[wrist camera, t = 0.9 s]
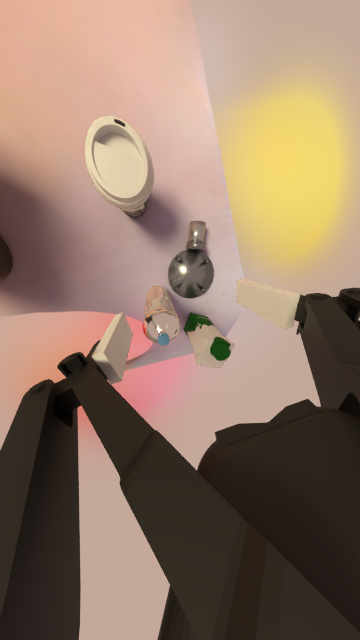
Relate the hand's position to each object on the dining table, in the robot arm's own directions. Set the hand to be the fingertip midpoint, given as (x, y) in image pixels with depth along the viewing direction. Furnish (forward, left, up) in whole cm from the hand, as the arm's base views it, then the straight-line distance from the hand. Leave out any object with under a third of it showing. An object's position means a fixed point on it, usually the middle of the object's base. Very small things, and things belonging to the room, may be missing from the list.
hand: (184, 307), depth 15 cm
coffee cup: (-8, +16, -28) cm, 34 cm away
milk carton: (+12, -17, -29) cm, 35 cm away
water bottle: (-2, -7, -29) cm, 29 cm away
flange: (+8, +3, -28) cm, 30 cm away
